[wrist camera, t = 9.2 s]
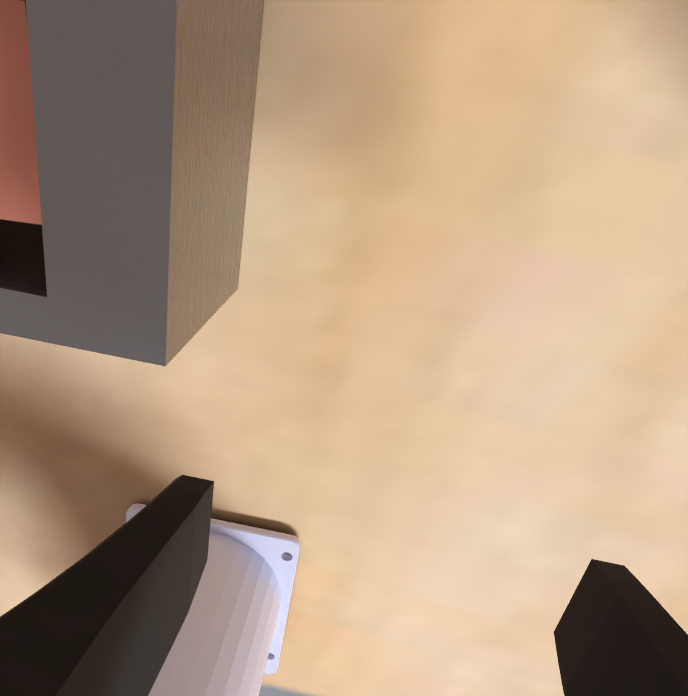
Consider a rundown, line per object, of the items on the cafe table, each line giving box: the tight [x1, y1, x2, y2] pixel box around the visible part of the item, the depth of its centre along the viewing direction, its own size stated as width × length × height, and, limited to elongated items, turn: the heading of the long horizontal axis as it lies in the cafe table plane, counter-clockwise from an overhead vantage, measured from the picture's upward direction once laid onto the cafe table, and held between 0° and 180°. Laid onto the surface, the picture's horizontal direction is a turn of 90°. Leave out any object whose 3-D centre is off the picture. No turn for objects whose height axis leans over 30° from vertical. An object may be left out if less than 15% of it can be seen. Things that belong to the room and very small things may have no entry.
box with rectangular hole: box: [0, 0, 264, 366], centre depth 14 cm, size 10×10×6 cm
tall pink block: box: [0, 0, 42, 225], centre depth 15 cm, size 5×2×5 cm, turn 173°
